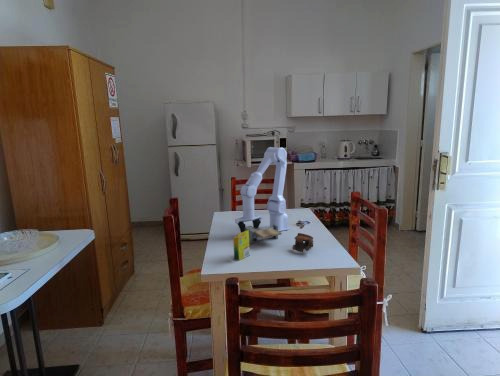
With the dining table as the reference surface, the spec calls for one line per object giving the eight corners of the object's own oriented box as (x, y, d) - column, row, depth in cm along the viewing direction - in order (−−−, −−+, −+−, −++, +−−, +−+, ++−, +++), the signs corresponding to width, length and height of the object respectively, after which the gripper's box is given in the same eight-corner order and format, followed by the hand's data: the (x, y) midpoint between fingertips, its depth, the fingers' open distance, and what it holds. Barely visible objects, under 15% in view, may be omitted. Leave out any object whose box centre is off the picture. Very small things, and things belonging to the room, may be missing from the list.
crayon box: (245, 253, 147) (244, 228, 145) (250, 255, 145) (249, 229, 143) (233, 259, 141) (232, 232, 139) (238, 260, 139) (238, 234, 137)
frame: (271, 235, 170) (271, 223, 169) (278, 239, 165) (277, 226, 164) (243, 241, 163) (243, 228, 162) (250, 245, 158) (249, 231, 156)
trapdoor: (267, 230, 170) (267, 224, 169) (283, 238, 157) (283, 232, 157) (246, 234, 164) (246, 228, 163) (260, 243, 151) (260, 236, 151)
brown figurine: (287, 248, 152) (292, 231, 154) (303, 254, 156) (308, 237, 157) (302, 251, 141) (307, 232, 143) (319, 257, 145) (324, 239, 147)
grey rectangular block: (250, 235, 171) (250, 225, 170) (254, 238, 168) (254, 227, 167) (244, 237, 169) (243, 226, 168) (247, 239, 166) (247, 228, 165)
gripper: (257, 205, 173) (257, 230, 175) (232, 209, 166) (232, 235, 168) (264, 208, 167) (264, 234, 169) (238, 212, 160) (239, 239, 162)
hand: (249, 234), depth 168 cm, fingers open, 6 cm apart
